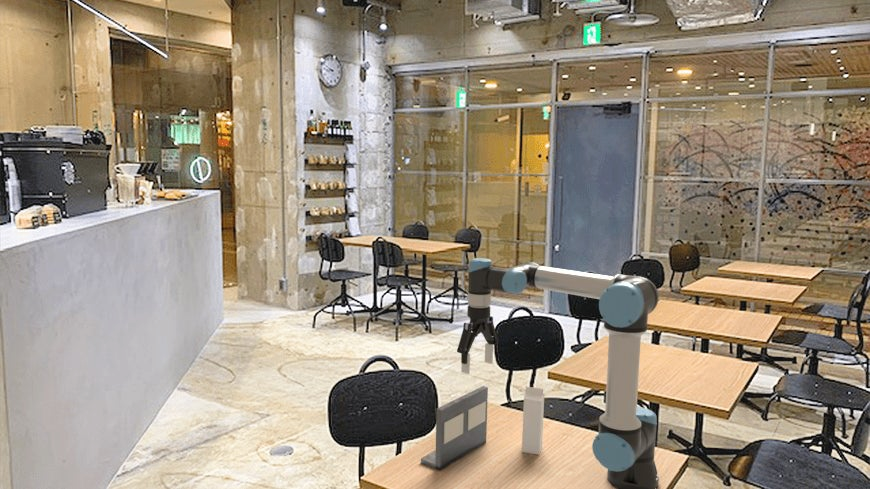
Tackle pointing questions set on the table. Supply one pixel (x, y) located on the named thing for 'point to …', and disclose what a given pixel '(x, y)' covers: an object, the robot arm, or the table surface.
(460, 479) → the table surface
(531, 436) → the milk
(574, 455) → the table surface
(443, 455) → the label panel
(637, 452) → the robot arm
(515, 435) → the table surface
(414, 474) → the table surface
